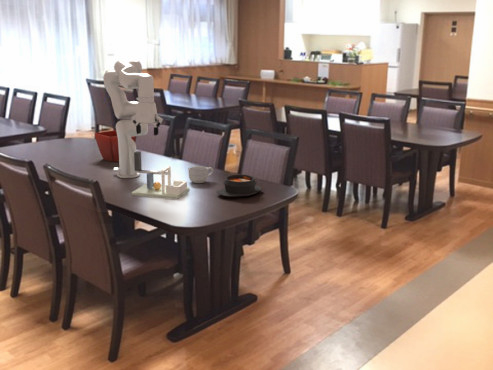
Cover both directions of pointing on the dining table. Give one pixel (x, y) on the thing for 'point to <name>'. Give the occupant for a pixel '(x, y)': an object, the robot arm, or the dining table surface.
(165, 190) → the cream platform with frame
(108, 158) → the plant pot
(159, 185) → the ball
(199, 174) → the teacup
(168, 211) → the dining table surface
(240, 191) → the casserole
